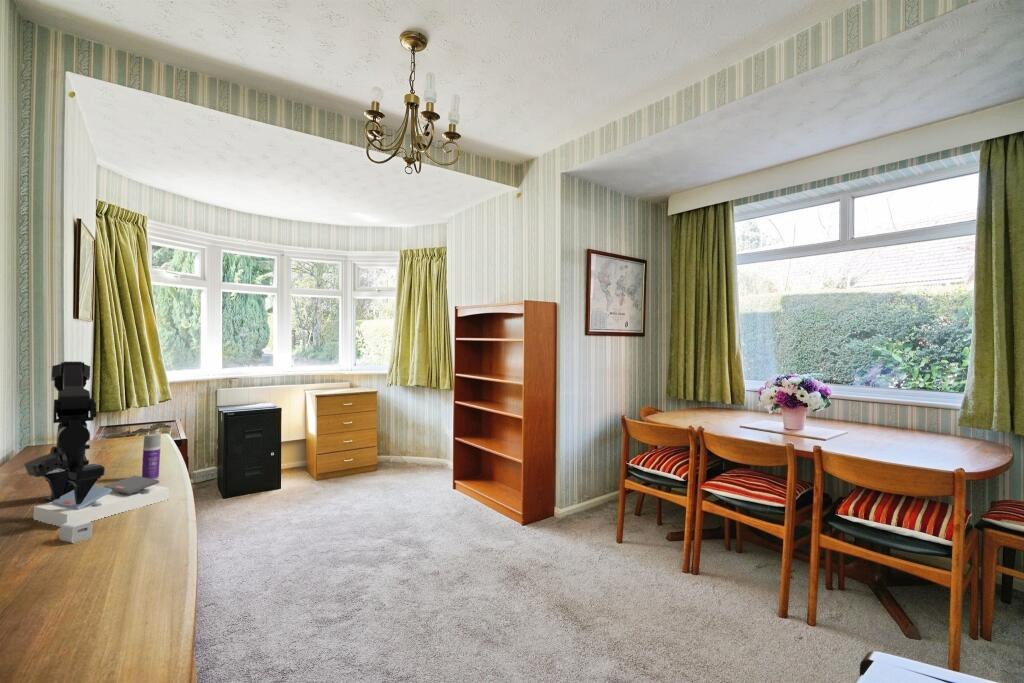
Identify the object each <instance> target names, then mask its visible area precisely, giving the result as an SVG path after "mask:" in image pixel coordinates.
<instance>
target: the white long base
mask: <svg viewBox="0 0 1024 683" xmlns="http://www.w3.org/2000/svg"><path fill="white" fill-rule="evenodd" d="M167 499H169V500H170V488H169V487H166V486H160V485H157V484H155V485H152V486H150V487H147V488H144V490H143V491H136V492H134V493H131V494H127V493H122V492H118V491H113V490H112V492H110V493H108V494H107V495H105V496H103V497H101V498H99V499H98V500H96V502H94V503H92V504H91V503H90V504H89V505H87V506H85V507H83V508H81V509H80V510H78V509H74V508H69V507H65V506H61V505H57V504H53V503H52V501H49V502H46V503H42V504H38V505H33V517H32V518H33V519H34V520H33V521H36V520H38V521H37V522H40V521H41V522H40V523H44V524H49V525H51V524H52V526H55V525H56V526H55V527H59V528H60V527H61V525H62V524H64V523H67V522H71V521H75V520H82V521H87V522H91V521H92V522H94V520H95V521H98V519H99V520H101V518H102V519H105V518H104V517H106V518H109V517H112V516H111V515H113V516H115V515H114V514H116V515H119V514H118V513H120V514H122V513H121V512H124V513H126V512H125V511H127V512H129V511H128V510H131V511H133V510H132V509H134V510H137V509H136V508H138V509H141V508H144V507H143V506H145V507H147V506H146V505H149V506H151V505H150V504H152V505H155V504H154V503H156V504H158V503H157V502H159V503H161V502H160V501H163V502H165V501H164V500H166V501H168V500H167ZM140 507H141V508H140ZM108 516H109V517H108ZM92 522H91V523H92Z"/></svg>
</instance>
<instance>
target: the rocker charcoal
mask: <svg viewBox="0 0 1024 683" xmlns="http://www.w3.org/2000/svg"><path fill="white" fill-rule="evenodd" d="M157 484H160V480H159V479H149V478H144V477H142V476H139V475H138V476H137V475H132V476H129V477H125V478H123V479H121V480H118V481H115V482H112V483H109V484H105V485H104V486H103V487H105V488H110V489H112V490H113V491H118V492H122V493H127V494H131V493H134V492H136V491H143V490H144V488H147V487H150V486H152V485H157Z"/></svg>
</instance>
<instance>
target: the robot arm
mask: <svg viewBox="0 0 1024 683" xmlns="http://www.w3.org/2000/svg"><path fill="white" fill-rule="evenodd" d="M90 379H91V366H90V365H88V364H85V362H84V361H63V362H60V363H59V364H55V365H52V366H51V376H50V381H53V387H54V388H55V390H56V391H57V399H53V412H52V413H53V415H52V416H53V417H52V418H53V424H58V425H57V433H56V445H55V446H52V447H51V448H50V451H49V453H48V454H44V455H42V456H39V457H37V458H34V459H32V460H30V461H27V462H25V463H24V467H25V470H26V471H27V474H28V475H29V477H30V476H31V477H32V476H33V477H35V478H41V477H42V478H43V479H45V482H47V483H48V486H49V489H50V492H51V493H50V496H46V497H44V500H45V501H49V502H52V501H53V500H55V499H59V498H60V497H61V496H63V495H65V494H67V493H69V492H70V491H72V490H74V494H75V503H76V504H81V503H82V502H83V500H84V499H85V497H86V495H87V494H88V492H89V491H90V489H91V488H92V486H93V485H95V484H96V483H97V481H98V480H100V479H101V477H104V476H105V474H106V467H104V466H103V465H102V464H97V463H90V460H89V459H87V457H86V450H90V446H91V445H90V444H87V443H88V442H89V440H90V438H91V437H90V435H91V434H90V431H89V429H88V423H87V422H93V421H94V420H95V419H94V418H96V417H97V402H96V401H95V399H94V398H93V397H91V392H90V390H88V389H86V388H85V386H86V385H87V381H89V380H90Z"/></svg>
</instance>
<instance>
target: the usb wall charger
mask: <svg viewBox="0 0 1024 683" xmlns="http://www.w3.org/2000/svg"><path fill="white" fill-rule="evenodd" d="M57 532H59V540H60V541H61V540H62V542H67V543H70V542H71V544H76V543H75V542H77V543H79V542H78V541H80V542H82V541H81V540H84V541H86V540H85V539H87V540H89V539H88V538H90V539H91V538H92V537H93V536H92V535H93V522H87V521H82V520H75V521H71V522H67V523H64V524H62V525H61V527H59V528H57Z"/></svg>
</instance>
